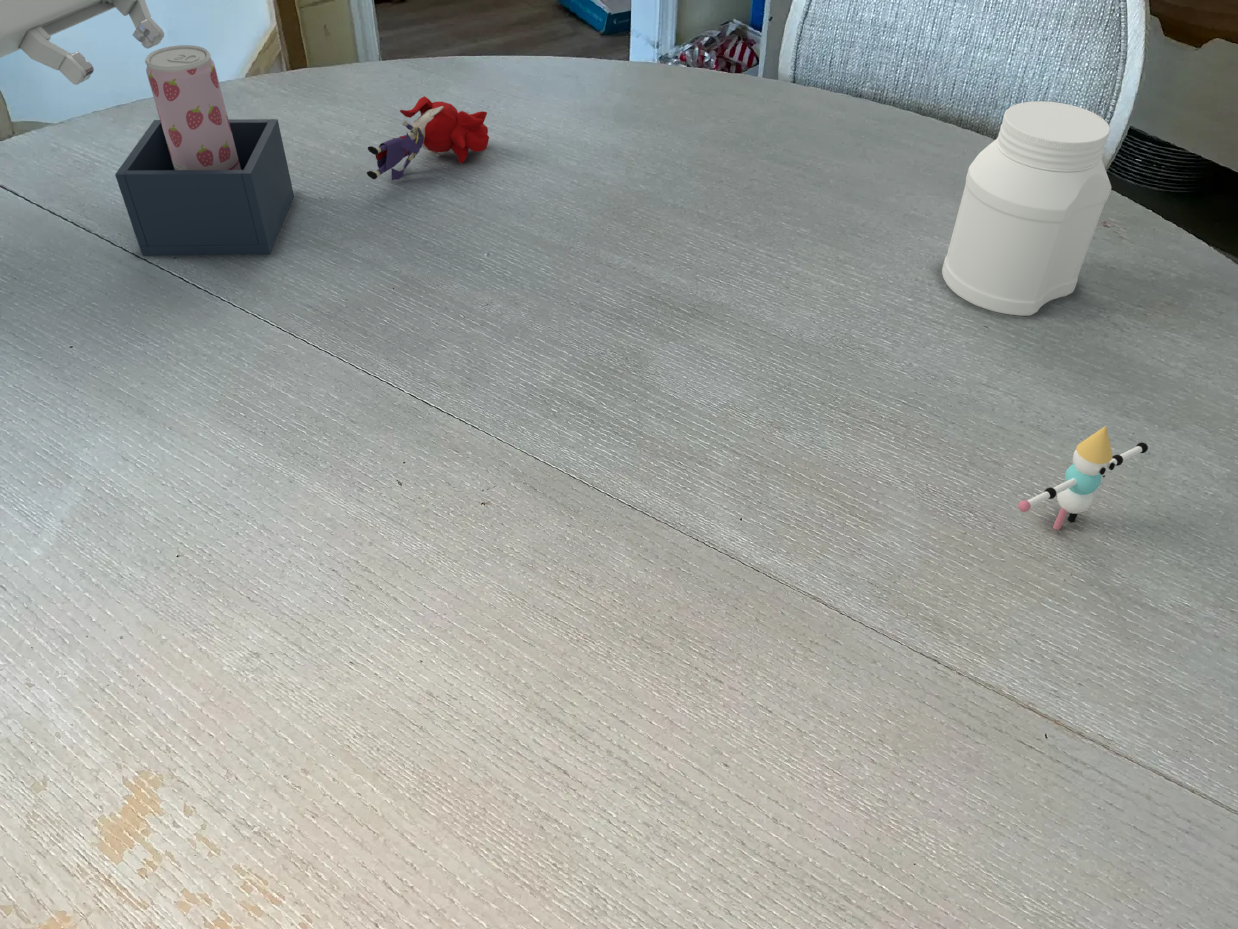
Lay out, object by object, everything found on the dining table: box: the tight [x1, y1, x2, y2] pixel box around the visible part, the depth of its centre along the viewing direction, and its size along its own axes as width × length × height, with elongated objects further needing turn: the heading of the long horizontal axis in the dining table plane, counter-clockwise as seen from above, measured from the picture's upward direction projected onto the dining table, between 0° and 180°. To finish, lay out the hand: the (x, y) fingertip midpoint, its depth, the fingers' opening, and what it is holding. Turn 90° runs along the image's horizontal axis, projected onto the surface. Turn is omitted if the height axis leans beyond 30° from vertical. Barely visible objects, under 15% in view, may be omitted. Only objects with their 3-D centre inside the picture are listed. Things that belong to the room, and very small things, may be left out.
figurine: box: [366, 95, 490, 181], centre depth 105 cm, size 6×8×15 cm
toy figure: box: [1017, 425, 1149, 531], centre depth 66 cm, size 12×2×9 cm, turn 121°
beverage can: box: [144, 44, 241, 170], centre depth 92 cm, size 6×6×15 cm
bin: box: [114, 118, 295, 257], centre depth 95 cm, size 12×12×8 cm
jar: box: [941, 100, 1112, 317], centre depth 87 cm, size 12×10×15 cm
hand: (122, 59), depth 88 cm, fingers open, 8 cm apart
